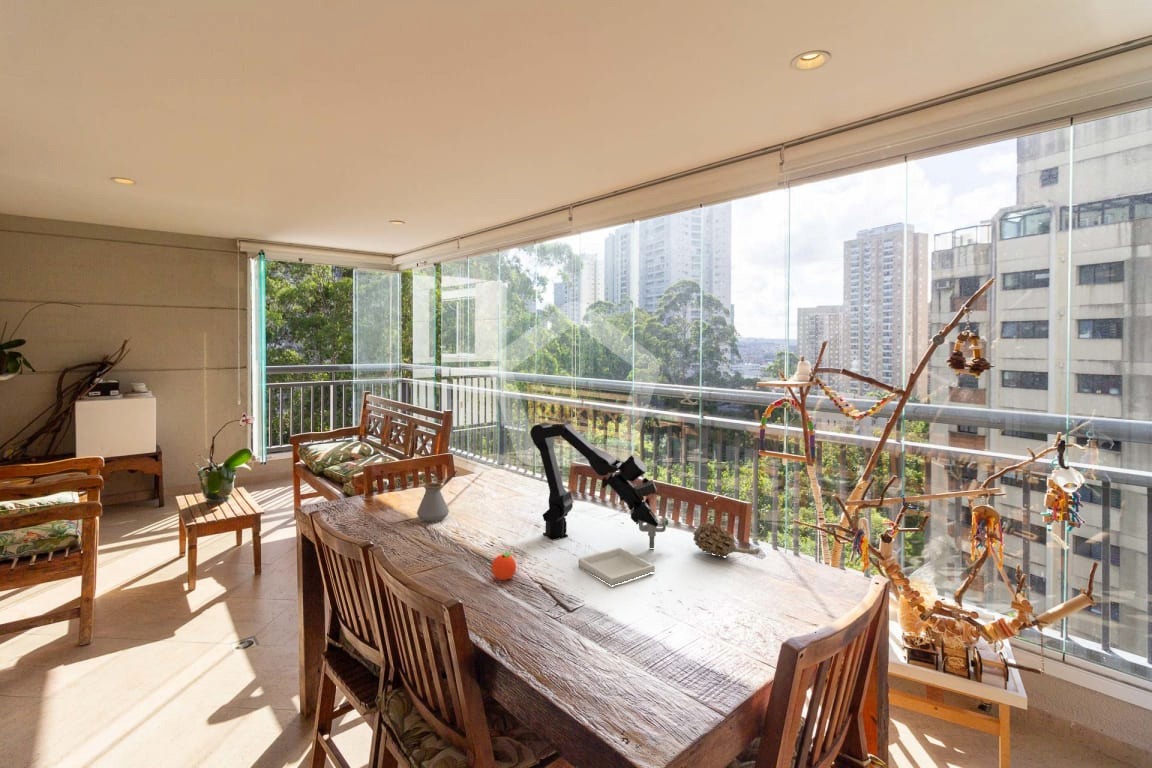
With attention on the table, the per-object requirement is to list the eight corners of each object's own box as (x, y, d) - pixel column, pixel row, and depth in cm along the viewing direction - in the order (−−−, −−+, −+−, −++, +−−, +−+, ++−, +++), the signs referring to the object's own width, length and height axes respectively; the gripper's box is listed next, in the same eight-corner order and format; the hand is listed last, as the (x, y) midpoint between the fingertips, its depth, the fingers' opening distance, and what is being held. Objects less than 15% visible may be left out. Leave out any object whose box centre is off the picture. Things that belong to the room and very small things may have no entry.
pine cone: (687, 555, 179) (688, 524, 178) (698, 545, 186) (699, 516, 186) (757, 572, 166) (758, 540, 165) (766, 561, 174) (767, 531, 173)
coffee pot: (436, 526, 200) (436, 485, 199) (410, 521, 204) (409, 481, 203) (469, 509, 220) (469, 471, 218) (445, 505, 224) (445, 468, 223)
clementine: (506, 570, 165) (507, 547, 164) (523, 577, 160) (524, 553, 160) (486, 579, 159) (486, 555, 158) (503, 586, 154) (503, 561, 154)
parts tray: (611, 587, 155) (611, 578, 155) (578, 566, 168) (578, 558, 168) (654, 573, 164) (654, 565, 164) (619, 555, 177) (619, 547, 177)
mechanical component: (667, 550, 181) (668, 521, 180) (636, 549, 182) (636, 520, 180) (667, 547, 184) (667, 517, 183) (635, 546, 185) (636, 517, 183)
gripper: (643, 480, 171) (678, 517, 171) (641, 465, 190) (673, 498, 190) (616, 503, 173) (651, 540, 173) (617, 486, 191) (648, 520, 191)
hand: (656, 523), depth 182 cm, fingers closed on mechanical component, 3 cm apart
